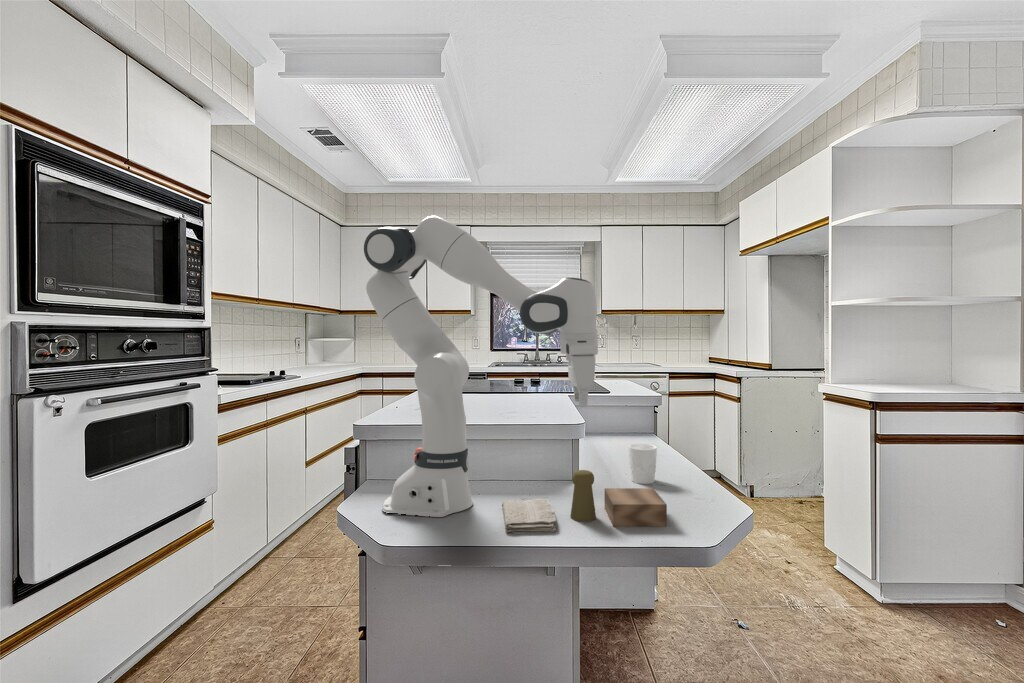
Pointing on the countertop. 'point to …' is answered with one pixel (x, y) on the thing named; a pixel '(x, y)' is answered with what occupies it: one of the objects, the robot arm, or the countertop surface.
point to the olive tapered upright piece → (583, 497)
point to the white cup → (642, 463)
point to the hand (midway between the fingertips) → (580, 403)
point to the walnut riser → (635, 507)
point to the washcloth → (528, 516)
